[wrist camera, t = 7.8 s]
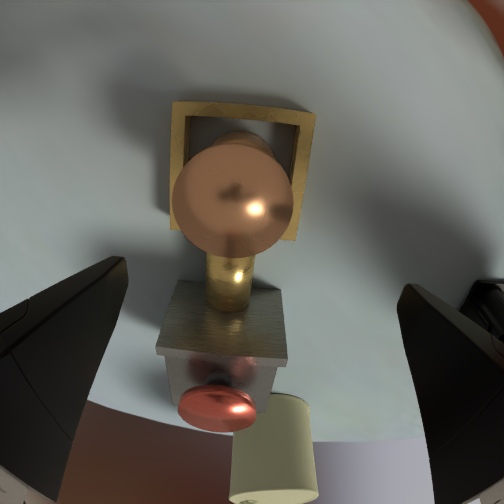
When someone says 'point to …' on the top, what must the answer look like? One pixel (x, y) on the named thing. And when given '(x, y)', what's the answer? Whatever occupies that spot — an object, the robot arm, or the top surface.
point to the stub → (233, 197)
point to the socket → (253, 112)
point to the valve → (223, 346)
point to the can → (275, 456)
